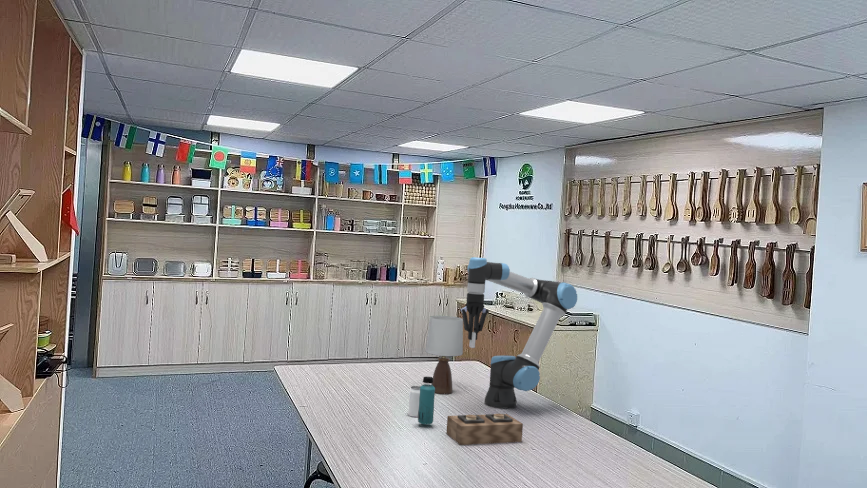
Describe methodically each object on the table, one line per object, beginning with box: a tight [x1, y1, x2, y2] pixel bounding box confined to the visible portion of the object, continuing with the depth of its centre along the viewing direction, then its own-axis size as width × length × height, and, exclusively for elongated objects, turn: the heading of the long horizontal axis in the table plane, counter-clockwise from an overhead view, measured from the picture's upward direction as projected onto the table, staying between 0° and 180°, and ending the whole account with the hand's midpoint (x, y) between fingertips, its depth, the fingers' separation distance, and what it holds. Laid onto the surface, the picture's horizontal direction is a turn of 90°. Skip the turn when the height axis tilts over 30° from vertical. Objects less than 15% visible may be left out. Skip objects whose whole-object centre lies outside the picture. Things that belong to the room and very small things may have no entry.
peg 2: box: [493, 413, 504, 419], centre depth 258 cm, size 4×4×8 cm
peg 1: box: [465, 414, 476, 420], centre depth 254 cm, size 4×4×8 cm
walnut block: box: [445, 413, 524, 446], centre depth 256 cm, size 26×14×8 cm, turn 110°
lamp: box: [425, 315, 464, 395], centre depth 327 cm, size 19×19×37 cm
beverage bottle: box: [417, 376, 436, 425], centre depth 267 cm, size 6×7×20 cm
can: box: [407, 385, 421, 418], centre depth 281 cm, size 6×6×12 cm
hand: (472, 347), depth 284 cm, fingers closed
